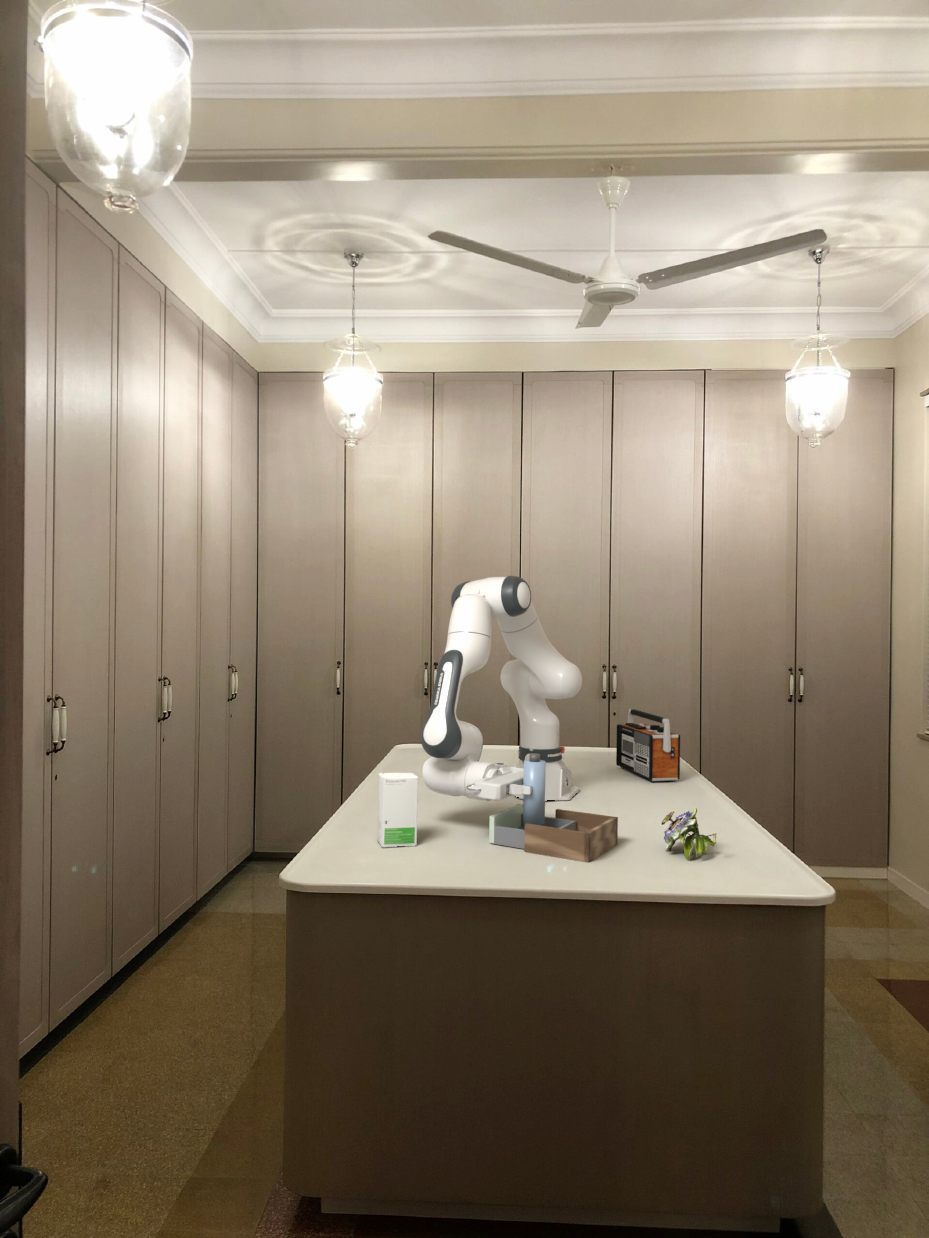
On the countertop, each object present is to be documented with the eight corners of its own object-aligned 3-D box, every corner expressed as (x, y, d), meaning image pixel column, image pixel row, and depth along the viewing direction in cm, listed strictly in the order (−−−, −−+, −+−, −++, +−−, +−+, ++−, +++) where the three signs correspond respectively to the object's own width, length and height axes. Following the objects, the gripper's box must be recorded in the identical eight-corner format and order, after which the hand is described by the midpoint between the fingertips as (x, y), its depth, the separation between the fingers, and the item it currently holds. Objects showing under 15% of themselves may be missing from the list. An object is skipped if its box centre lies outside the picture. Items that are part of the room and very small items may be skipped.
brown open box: (556, 834, 203) (557, 808, 203) (617, 843, 195) (617, 817, 195) (524, 851, 188) (524, 824, 188) (588, 862, 180) (588, 833, 180)
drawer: (518, 829, 206) (518, 803, 206) (576, 838, 199) (576, 811, 199) (489, 843, 194) (489, 816, 194) (549, 853, 186) (550, 824, 186)
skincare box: (381, 848, 189) (381, 778, 189) (376, 840, 196) (376, 772, 196) (418, 846, 192) (419, 776, 191) (412, 838, 198) (413, 771, 198)
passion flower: (669, 875, 189) (656, 824, 196) (718, 867, 189) (703, 816, 196) (672, 859, 180) (658, 805, 187) (723, 850, 180) (708, 797, 187)
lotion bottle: (528, 818, 200) (529, 751, 199) (548, 821, 197) (549, 753, 197) (518, 823, 195) (520, 754, 195) (538, 826, 193) (540, 756, 193)
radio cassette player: (614, 767, 292) (615, 708, 292) (643, 766, 294) (643, 708, 294) (651, 784, 263) (652, 719, 263) (682, 783, 265) (683, 718, 265)
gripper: (462, 774, 194) (517, 781, 187) (504, 761, 211) (556, 767, 204) (462, 802, 194) (516, 810, 187) (504, 787, 211) (555, 794, 204)
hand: (537, 787), depth 196 cm, fingers closed on lotion bottle, 5 cm apart
